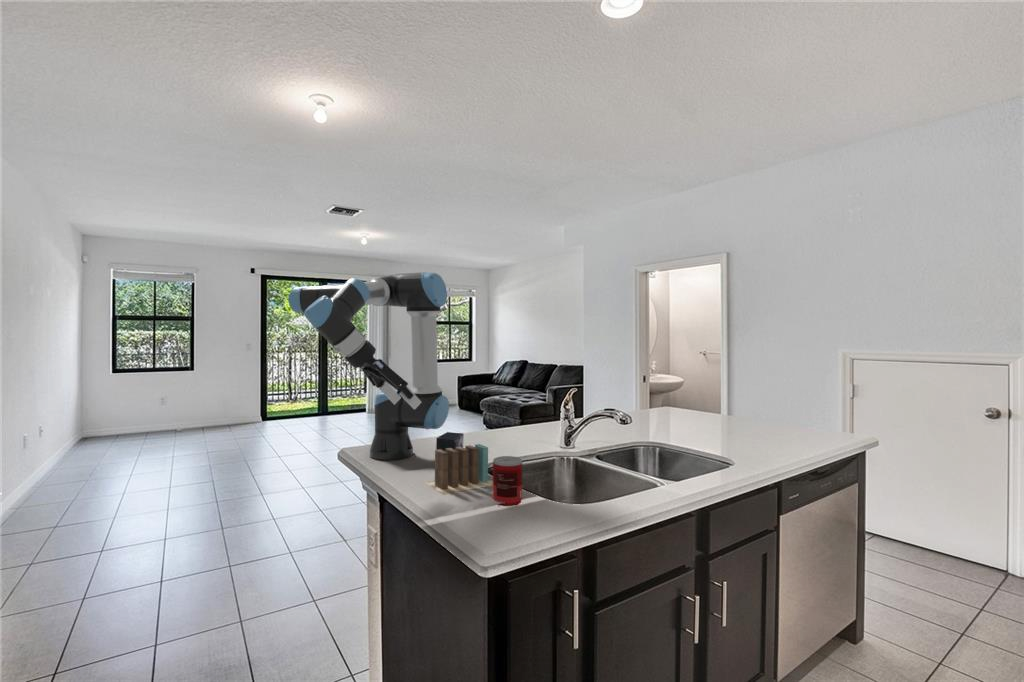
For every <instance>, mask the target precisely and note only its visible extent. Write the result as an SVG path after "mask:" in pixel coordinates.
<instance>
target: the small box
mask: <svg viewBox="0 0 1024 682" xmlns="http://www.w3.org/2000/svg"><path fill="white" fill-rule="evenodd" d="M435 440H436V442H435V443H436V444H435V445H436V446H435V450H438V449H441V450H443V451H445V449H446V448H452V449H454V450H455V448H456V447H463V448H464V432H463V433H462V432H451V431H447V432H445V433H442V434H441V435H439V436H438V437H436V439H435Z"/></svg>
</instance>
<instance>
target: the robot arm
mask: <svg viewBox="0 0 1024 682" xmlns="http://www.w3.org/2000/svg"><path fill="white" fill-rule="evenodd" d="M447 290H448V289H447V286H446V283H445V280H444V279H443V277H442V276H441V275H440V274H439V273H436V272H428V271H425V272H406V273H394V274H390V275H385V276H380V277H373V278H371V279H369V281H363V280H361V279H358V278H350V279H348V280H347V281H345V282H344V283H337V284H335V283H334V284H325V285H315V286H313V285H311V286H304V285H303V286H299V287H296V286H295V288H292V290H290V292H289V294H288V299H287V300H288V305H289V307H290V309H291V310H292V311H293V312H294V313H296V314H303V315H304V316H305V318H306V319H307V321H308V322H309V323H310V324H311V326H312V327H313V328H314V329H315V330H317V331H318V333H320V335H321V336H323V338H324V339H325V340H326V341H327V342H328V343H330V345H331V346H332V347H334V348H335V349H334V352H335V353H339V354H340V355H341V356H342V357H345V360H346V362H348V363H349V365H350V366H351V367H352V368H353V369H357V368H359V369H360V370H361V372H363V374H364V375H365V377H366V378H367V380H369V381H370V383H371V385H372V386H373V387H375V388H377V389H378V390H379V391H381V392H379V393H377V394H376V395H375V401H374V435H373V439H372V441H371V445H370V448H369V457H370V458H371V459H375V460H379V461H380V460H381V461H383V460H384V461H391V460H401V459H406V458H409V457H412V456H413V455H414V447H413V444H412V441H411V438H410V433H409V428H412V429H413V428H414V429H423V430H424V429H425V430H437V429H439V428H441V427H443V425H444V424H445V422H446V420H447V418H448V415H449V409H450V402H449V399H448V397H447V396H445V395H443V389H442V388H441V386H439V385H438V383H439V382H438V378H439V377H438V341H437V339H438V338H437V337H438V336H437V335H438V333H437V331H438V330H437V316H438V315H439V314H440V313H441V311H442V309H441V307H444V306H445V305H446V304H447V298H448V291H447ZM369 305H373V306H375V307H383V306H384V307H385V306H386V307H387V306H389V307H401V308H402V307H403V308H404V307H405V308H406V313H407V314H408V315H409V316H410V319H411V320H410V323H411V325H410V326H411V327H410V328H411V366H412V367H411V369H412V372H411V373H412V385H411V387H410V388H409V386H408V385H409V383H408V381H406V380H404V378H402V377H401V376H400V375H399V374H398V373H396V371H394V370H393V369H392V368H391V367H390V366H388V365H387V364H386V363H385V361H383V359H381V358H378V359H376V358H375V357H374V355H375V354H376V351H377V349H376V347H375V346H374V345H373V344H372V343H371V342H370V340H368V339H366V336H365V335H364V334H363V333H362V332H361V330H359V328H357V326H355V325H354V324H353V322H352V321H351V320H352V319H353V318H354V317H355V316H356V315H357V313H358V312H359V311H360V310H361V309H362V308H363V307H365V306H369Z"/></svg>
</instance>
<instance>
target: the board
mask: <svg viewBox="0 0 1024 682" xmlns="http://www.w3.org/2000/svg"><path fill="white" fill-rule="evenodd" d="M425 484H427V485H428V486H429V487H431V488H433V489H434V490H436V491H437V492H439V493H441V494H442V495H449V494H454V493H461V492H464V491H465V492H466V491H469V490H476V489H480V488H486V487H491V486H492V487H493V480H490V479H489V478H488V482H484V483H483V482H481V481H479V480H478V484H472V483H470V482H468V485H467V486H462V485H460V484H458V487H456V488H452V487H450V486H449V485H448V489H446V490H442V489H440V488H438V487H437V486H435V480H433V481H428V482H425Z"/></svg>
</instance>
